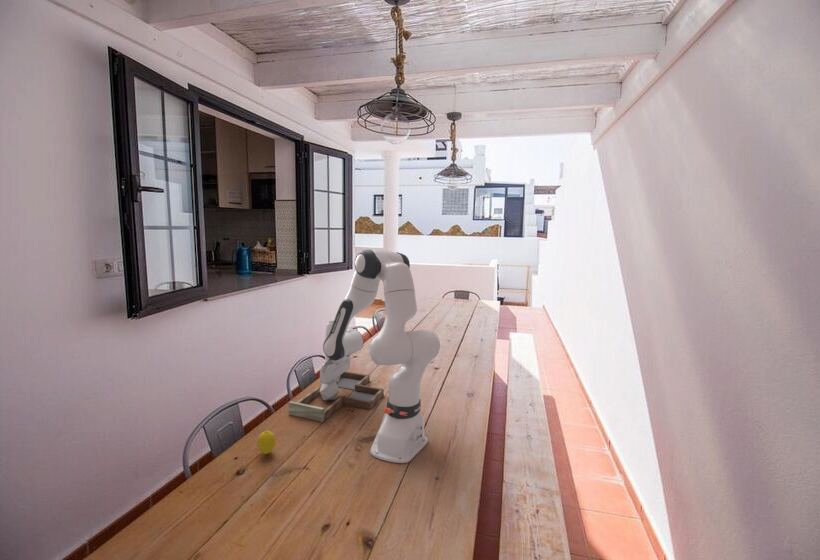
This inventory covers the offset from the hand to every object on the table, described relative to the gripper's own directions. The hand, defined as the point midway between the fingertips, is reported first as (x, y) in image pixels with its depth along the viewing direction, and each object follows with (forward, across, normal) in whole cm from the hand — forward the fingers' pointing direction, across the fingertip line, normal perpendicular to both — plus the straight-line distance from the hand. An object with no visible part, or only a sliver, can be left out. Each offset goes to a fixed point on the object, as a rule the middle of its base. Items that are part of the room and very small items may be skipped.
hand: (335, 385), depth 169 cm
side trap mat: (+4, +1, -13) cm, 13 cm away
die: (+4, -4, 0) cm, 6 cm away
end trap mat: (+4, +13, 0) cm, 13 cm away
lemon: (+4, -48, -2) cm, 48 cm away
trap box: (+4, -1, -6) cm, 8 cm away
